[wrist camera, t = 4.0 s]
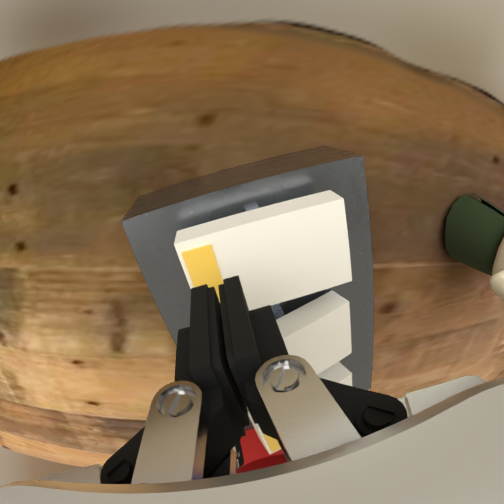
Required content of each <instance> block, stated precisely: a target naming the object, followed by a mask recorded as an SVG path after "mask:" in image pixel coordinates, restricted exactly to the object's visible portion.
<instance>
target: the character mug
mask: <svg viewBox="0 0 504 504" xmlns="http://www.w3.org/2000/svg"><path fill="white" fill-rule="evenodd" d="M471 194H473V195H475V196H477V197H479V198H480V199H481V201H482V202H480V201H477V200H475V199H473V198H471V197H469V196H467V195H462V196H461V197H460V198H459V199H458V200H457V201H456V202H455V203H454V204H453V206H452V208H451V210H450V212H449V214H448V216H447V219H446V229H445V244H446V250H447V252H448V254H449V255H450V257H452V258H454V259H456V260H458V261H460V262H462V263H463V264H466V265H468V266H470V267H472V268H475V269H477V270H479V271H481V272H483V273H486V274H489V275H492V277H491V278H490V279H489V285H490V287H491V288H492V289H493V291H494V292H495V293H496V294H497V296H499V297H500V298H501V299H503V300H504V212H503V211H502V210H500V209H499V208H497V207H496V206H494V205H493V204H491V203H490V202H488V201H487V200H485V199H483V198H482V197H480V196H478V195H476V194H474V193H471Z"/></svg>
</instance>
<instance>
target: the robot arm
mask: <svg viewBox="0 0 504 504" xmlns="http://www.w3.org/2000/svg"><path fill="white" fill-rule="evenodd" d="M223 283H224V284H220V285H218V288H219V297H220V302H219V299H218V296H217V293H216V290H215V288H214V286H213V287H210V288H209V287H208V285H207V284H205V285H201V286H198V287H194V288H191V304H190V327H186V328H182V329H179V330H178V336H177V350H176V366H175V382H172V383H170V384H167V385H165V386H164V387H163V388H161V389H160V390H159V391H158V392H157V393H156V394H155V396H154V398H153V400H152V403H151V406H150V410H149V414H148V418H147V421H146V425H145V427H144V428H143V429H141V430H140V431H139V432H138V433H137V434H136V435H135V436H134V437H133V438H132V439H130V440H129V441H128V442H127V443H126V444H125V445H124V446H123V447H122V448H120V449H119V450H118V451H117V452H116V453H115V454H114V455H113V456H111V457H110V458H109V459H108V460H107V461H106V463H105V464H104V465H103V466H102V467H101V466H100V465H99V464H96V465H91V466H87V467H82V468H77V469H72V470H67V471H61V472H56V473H52V474H50V475H48V476H47V477H46V478H45V479H44V480H28V481H20V482H13V483H10V484H6V485H3V486H0V504H504V378H500V379H495V380H492V381H488V382H485V380H483V379H481V378H480V377H478V376H472V375H469V376H463V377H460V378H457V379H454V380H451V381H448V382H445V383H441V384H438V385H435V386H431V387H428V388H424V389H420V390H417V391H413V392H409V393H406V396H405V397H403V398H399V399H396V398H394V397H392V396H389V395H385V394H381V393H376V392H372V391H368V390H364V389H360V388H356V387H352V386H349V385H345V384H341V383H338V382H334V381H330V380H327V379H323V378H320V377H318V375H317V374H316V372H315V371H314V370H313V368H312V367H311V365H310V364H309V363H308V362H307V361H306V360H305V359H303V358H301V357H299V356H295V355H289V354H288V351H287V348H286V346H285V343H284V340H283V338H282V335H281V332H280V330H279V327H278V324H277V321H276V319H275V316H274V313H273V311H272V308H271V305H268V306H264V307H261V308H257V309H254V310H250V311H249V309H248V305H247V302H246V299H245V295H244V292H243V289H242V285H241V282H240V279H239V276H238V275H237V276H234V277H230V278H226V279H223ZM247 408H248V410H249V412H250V415H251V417H252V419H253V421H254V423H255V424H257V423H258V425H259V427H260V429H261V431H262V433H263V434H265V435H267V436H270V437H272V438H274V439H276V440H277V441H278V443H279V445H280V447H281V450H282V452H283V454H284V456H285V458H286V460H287V462H286V463H282V464H279V465H275V466H270V467H266V468H262V469H257V470H253V471H248V472H243V473H237V474H236V449H235V447H234V446H235V445H236V444H237V443H238V441H239V440H240V439H241V437H243V436H246V433H245V426H249V425H250V421H249V416H248V410H247Z"/></svg>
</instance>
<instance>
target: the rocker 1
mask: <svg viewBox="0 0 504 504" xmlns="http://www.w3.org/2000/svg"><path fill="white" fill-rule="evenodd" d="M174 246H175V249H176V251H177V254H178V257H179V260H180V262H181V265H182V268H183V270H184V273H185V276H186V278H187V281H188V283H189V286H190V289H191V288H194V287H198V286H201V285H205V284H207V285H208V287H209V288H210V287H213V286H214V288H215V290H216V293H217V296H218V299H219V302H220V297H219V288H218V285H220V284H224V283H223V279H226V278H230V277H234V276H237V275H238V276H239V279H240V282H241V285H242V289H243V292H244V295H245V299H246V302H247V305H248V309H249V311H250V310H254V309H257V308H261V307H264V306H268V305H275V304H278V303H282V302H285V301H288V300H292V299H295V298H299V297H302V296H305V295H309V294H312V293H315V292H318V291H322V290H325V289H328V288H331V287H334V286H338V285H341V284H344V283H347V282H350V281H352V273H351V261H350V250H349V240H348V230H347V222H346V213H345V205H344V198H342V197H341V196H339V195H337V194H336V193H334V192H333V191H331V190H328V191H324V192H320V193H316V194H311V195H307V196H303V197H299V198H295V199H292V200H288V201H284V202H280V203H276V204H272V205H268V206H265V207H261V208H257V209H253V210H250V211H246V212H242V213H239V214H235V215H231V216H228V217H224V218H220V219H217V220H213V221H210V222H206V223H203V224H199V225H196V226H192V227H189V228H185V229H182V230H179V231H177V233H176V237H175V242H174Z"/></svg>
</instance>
